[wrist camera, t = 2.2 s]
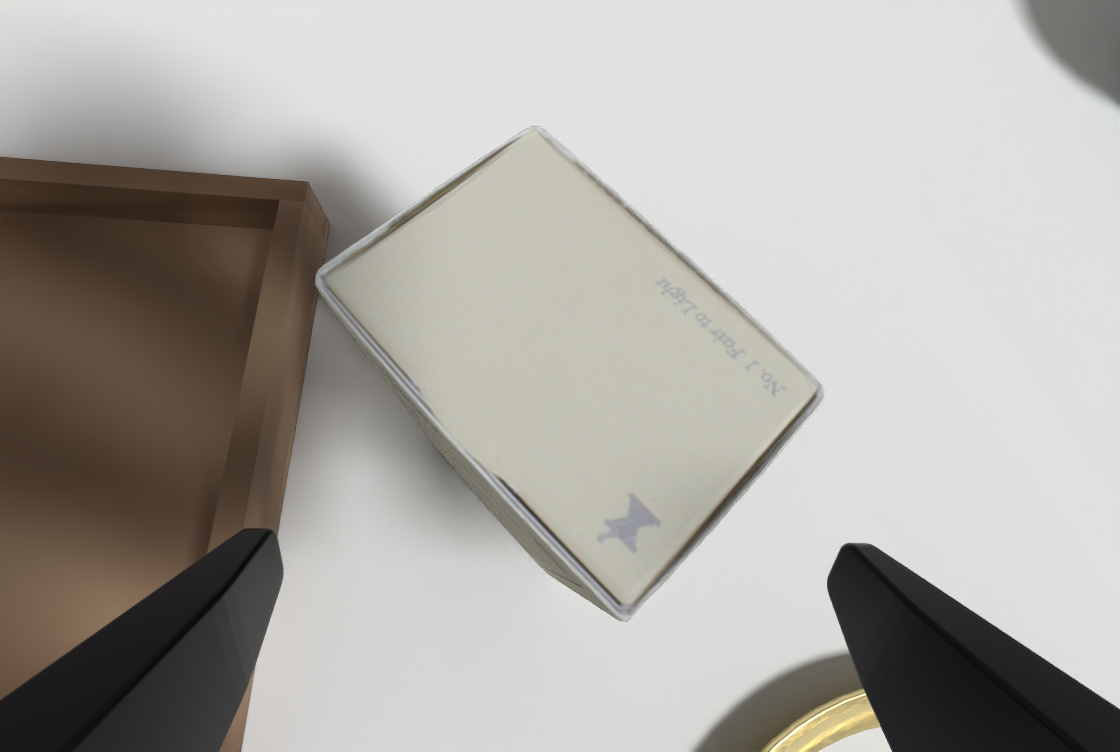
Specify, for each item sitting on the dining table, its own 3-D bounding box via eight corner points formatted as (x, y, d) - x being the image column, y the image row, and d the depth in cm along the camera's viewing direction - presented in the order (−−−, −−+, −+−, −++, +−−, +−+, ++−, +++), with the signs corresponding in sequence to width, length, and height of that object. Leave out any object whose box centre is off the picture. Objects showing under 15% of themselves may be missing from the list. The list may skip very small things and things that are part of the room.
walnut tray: (222, 865, 15) (168, 926, 12) (-383, 888, 13) (-576, 962, 11) (330, 223, 21) (308, 181, 18) (-76, 193, 19) (-156, 144, 17)
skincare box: (638, 488, 19) (856, 397, 7) (545, 583, 18) (636, 649, 6) (517, 361, 20) (543, 104, 8) (421, 442, 19) (298, 270, 7)
